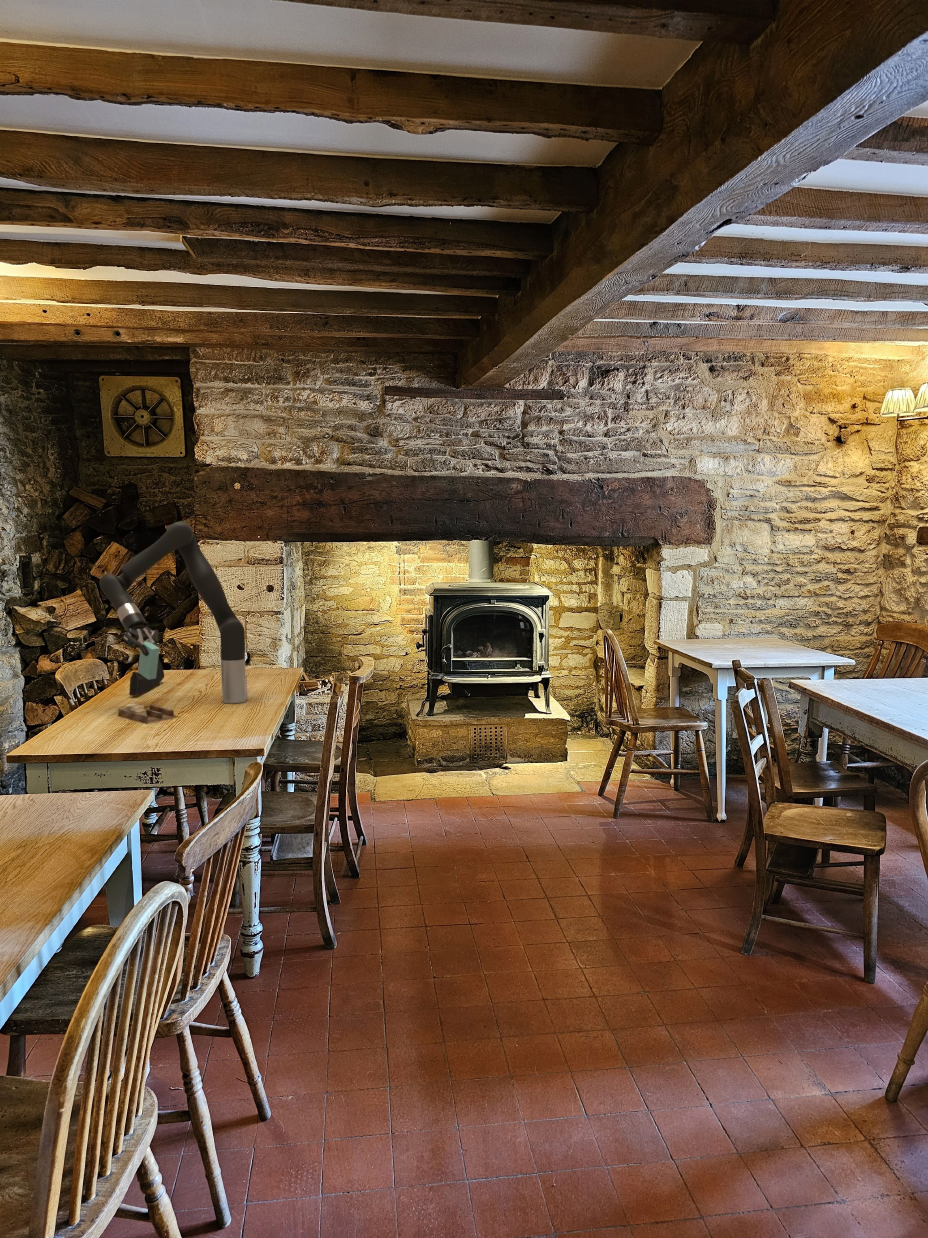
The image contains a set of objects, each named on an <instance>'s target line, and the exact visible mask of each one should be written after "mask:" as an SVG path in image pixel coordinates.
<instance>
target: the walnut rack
mask: <svg viewBox="0 0 928 1238" xmlns="http://www.w3.org/2000/svg"><path fill="white" fill-rule="evenodd" d="M148 707H149V708H145V707H144V710H146V714H147V716H144V715H141V714H137V713H133V712H130V711H126V709H121V708H118V709H117V712H118V713H117V715H116V716H117V717H121V718H123V719H124V718H125V719H128V720H132V721H135V722H138V723H142V724H145V725H150V724H151V725H152V724H155V723H159V722H163V721H168V720H173V719H177V718H181V716H179V715H176V714H175V713H174V711H175V710H173V709H169V708H165V707H162V706H158V705H154V704H150V705H148Z"/></svg>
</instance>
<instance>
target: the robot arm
mask: <svg viewBox="0 0 928 1238" xmlns="http://www.w3.org/2000/svg"><path fill="white" fill-rule="evenodd" d="M176 550H177V551H179V554H180V555H181V557H182V558H183V561H184V562H185V566H186V568H187V569H186V570H187V573H188V576H189V578H190V580H191V582H192V584H193V586H194V588H195V590H196V592H197V593H198V595H199V596H200V598H201V599H202V601H203V602H204V604H205V606H207V608H208V609H209V610H210V612H211V614H212V616H213V619H214V621H215V623H216V625H217V628H218V632H219V634H220V638H219V639H220V667H221V669H220V671H221V692H222V693H221V696H222V697H221V698H222V703H225V704H239V703H246V702H247V700H248V680H247V679H248V678H247V675H246V634H245V633H246V631H245V626H244V625H243V623H242V621H240V620H239V618H238V617H237V616H236V614H235V613H234V611H233V609H232V608H231V605H230V603H229V602H228V599H227V596H226V593H225V591H224V588H223V586H222V584H221V582H220V580H219V577H218V576H217V573H216V572H215V570H214V569H213V567H212V566H211V563H210V562H209V561H208V560H207V558H206V557H205V555H204V553H203V552H202V550H201V548H200V545H199V544H198V541H197V538H196V536H195V533H194V530H193V528H192V527H191V525H190V524H188V523H187V522H185V521H176V522H173V523H172V524H171V525H170V526H169V527H168V528H167V530H166V531H165V533H163V535H161V536H160V537H159V539H157V540H156V541H155V542H154V543H153V544H151V545H150V546H148V547H147V548H145V549H143V550H142V551H141V552H139V553H138V554H136V555H134V556H133V557H132V558H131V559H129V560H128V561H127V562H126V563H124V564H123V565H121V569H120V570H121V572H122V573H121V575H119V576H117V575H115V574H113V573H104V574H103V575H102V576H101V577H100V579H99V588H100V590H101V591H102V593H103V594H104V595H105V597H106V598H107V599H108V600H109V602H110V603H111V605H112V606H113V608H114V610H115V612H116V614H117V616H118V619H119V620H120V623H121V624H122V626H123V627H124V629H125V631H126V632H125V634H124V635H123V637H122V639H123V641H125V642H126V643H127V644H128V645H129V646H131V647H132V648H133V649H139V651H140V650H141V651H142V653H143V655H145V656H148V654H149V652H148V650H147V648H146V646H145V645H144V642H147V641H149V642H151V643H152V644H154V645H155V646H157V644H158V643H159V630H158V629H155V630H152V629H151V628H150V627H149V626H148V625H147V624H148V623H147V621H146V619H145V617H144V616H143V614H142V612H141V611H140V609H139V607H137V605H136V604H135V601H134V600H133V598H132V597H131V595H130V594H129V593H128V590H130V588H131V587H132V586H133V585H134V583H135V581H136V580H138V579H139V578H140V577H142V576H143V575H144V574H145V573H148V571H149V570H151V569H152V568H153V567H154V566H155V565H156V564H158V562H160V561H161V560H162V559H164V558H165V557H166V556H168V555H170V554H171V553H173V552H174V551H176Z"/></svg>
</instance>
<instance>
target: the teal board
mask: <svg viewBox="0 0 928 1238" xmlns="http://www.w3.org/2000/svg"><path fill="white" fill-rule="evenodd" d="M143 642H144V641H143ZM144 645H145V646H146V648H147V650H148V652H149V654H148V656H145V655H143V653H142V651H141V650H140V649H139V651H140V652H139V658H138V659H139V660H138V661H139V662H138V669H137V670H138V671H137V672H138V673H140V674H141V675H142V676H144V677H145V678H147V679H148V680H150V679H155V678H156V674H157V665H158V660H159V655H160V647H158V646H157V645H154V644H152V643H151V642H149V641H147V642H144Z"/></svg>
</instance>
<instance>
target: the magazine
mask: <svg viewBox="0 0 928 1238" xmlns="http://www.w3.org/2000/svg"><path fill="white" fill-rule="evenodd" d="M129 678H130V679H129V696H131V697H132V696H133V697H136V696H139V695H142V694H143V695H144V694H146V693H149V692H151V691H152V690H154V689H155V688H156V687H158V685H160V683H161V682H162V681H163V679H164V678H165V671H164V667H163V665H162V663H161V662H160V660H159V659H158V665H157V674H156V678H155V679H150V680H148V679H147V678H145V677H144V676H142V675H141V674H140V673H138V671H133V672H132V674H131V676H130V677H129Z"/></svg>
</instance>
